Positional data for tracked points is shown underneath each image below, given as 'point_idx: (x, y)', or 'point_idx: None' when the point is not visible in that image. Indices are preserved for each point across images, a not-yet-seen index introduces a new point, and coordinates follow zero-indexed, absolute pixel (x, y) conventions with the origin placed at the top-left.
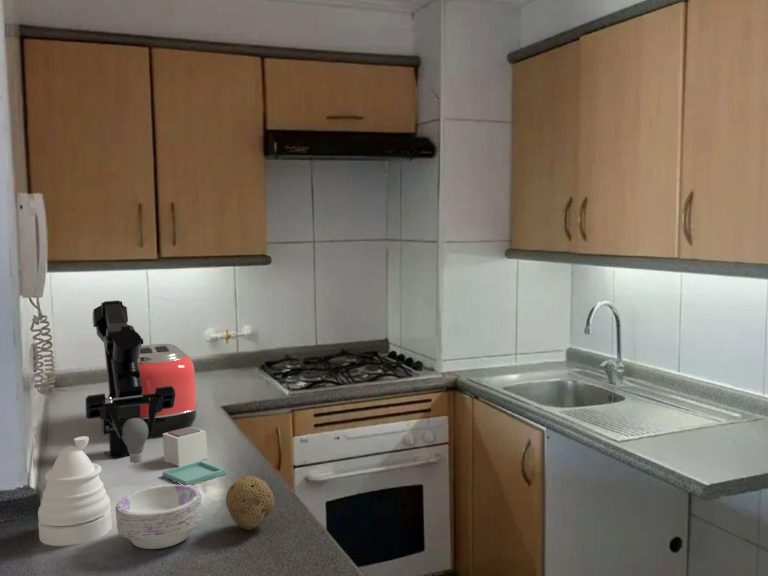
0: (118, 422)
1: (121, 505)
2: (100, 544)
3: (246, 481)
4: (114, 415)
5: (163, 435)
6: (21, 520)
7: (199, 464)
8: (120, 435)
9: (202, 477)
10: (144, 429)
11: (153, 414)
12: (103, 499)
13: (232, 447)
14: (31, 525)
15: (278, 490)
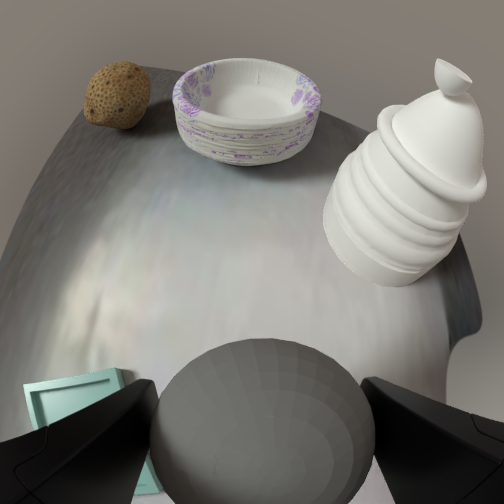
0: (427, 414)
1: (312, 92)
2: (335, 162)
3: (119, 62)
4: (493, 434)
5: None
6: (471, 328)
7: None
8: (370, 377)
9: (73, 377)
10: (195, 359)
11: (53, 433)
12: (351, 157)
13: None
14: (454, 295)
15: (18, 232)
